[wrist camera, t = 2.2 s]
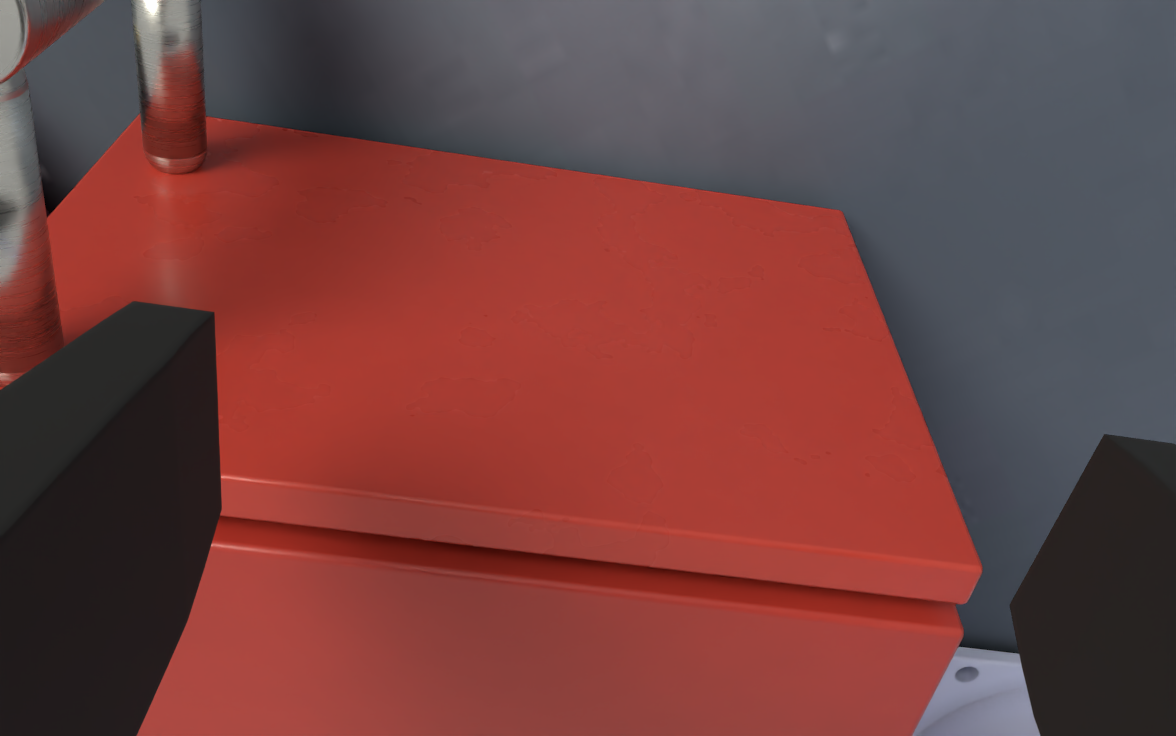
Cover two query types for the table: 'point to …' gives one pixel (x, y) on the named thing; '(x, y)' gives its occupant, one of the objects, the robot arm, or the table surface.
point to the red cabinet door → (489, 339)
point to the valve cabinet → (530, 646)
